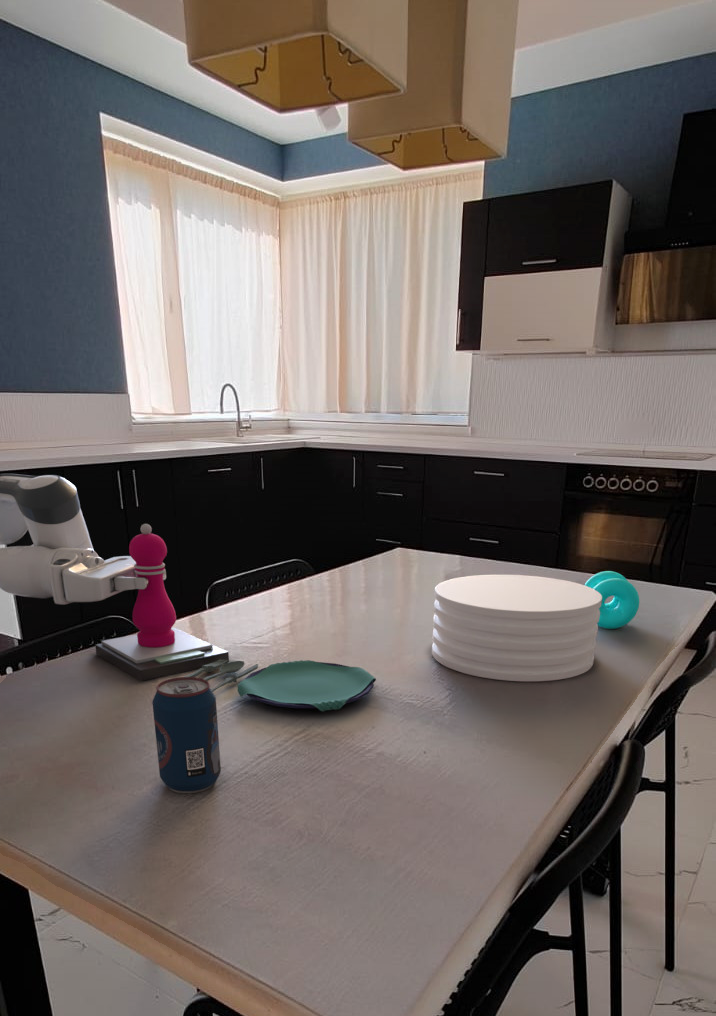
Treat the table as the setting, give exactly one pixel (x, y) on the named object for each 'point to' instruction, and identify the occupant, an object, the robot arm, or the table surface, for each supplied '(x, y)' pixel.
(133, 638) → the kitchen scale
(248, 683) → the cutlery set
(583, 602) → the plate stack
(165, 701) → the soda can
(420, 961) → the table surface
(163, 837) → the table surface
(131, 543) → the pepper mill
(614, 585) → the donuts
